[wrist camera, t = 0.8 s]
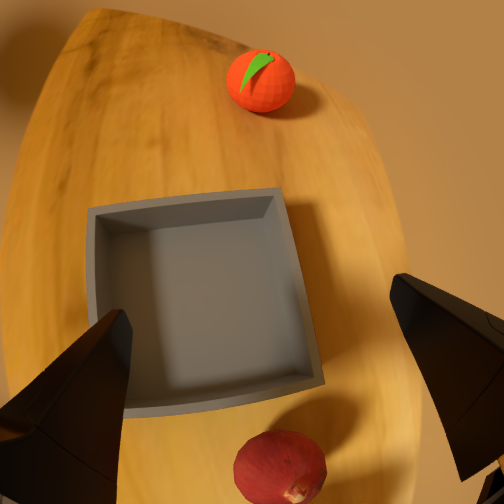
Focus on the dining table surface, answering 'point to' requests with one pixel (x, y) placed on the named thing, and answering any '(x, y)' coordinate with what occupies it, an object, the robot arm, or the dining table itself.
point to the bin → (204, 299)
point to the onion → (280, 468)
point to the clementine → (260, 81)
